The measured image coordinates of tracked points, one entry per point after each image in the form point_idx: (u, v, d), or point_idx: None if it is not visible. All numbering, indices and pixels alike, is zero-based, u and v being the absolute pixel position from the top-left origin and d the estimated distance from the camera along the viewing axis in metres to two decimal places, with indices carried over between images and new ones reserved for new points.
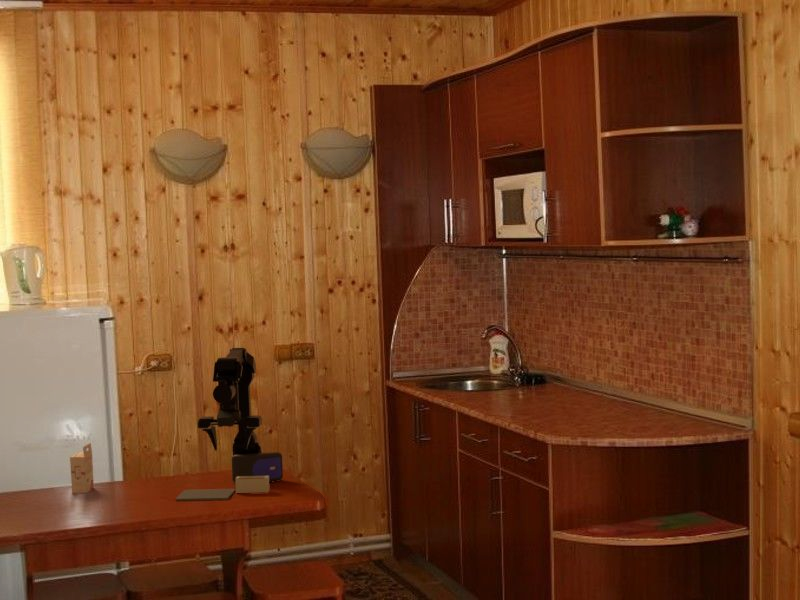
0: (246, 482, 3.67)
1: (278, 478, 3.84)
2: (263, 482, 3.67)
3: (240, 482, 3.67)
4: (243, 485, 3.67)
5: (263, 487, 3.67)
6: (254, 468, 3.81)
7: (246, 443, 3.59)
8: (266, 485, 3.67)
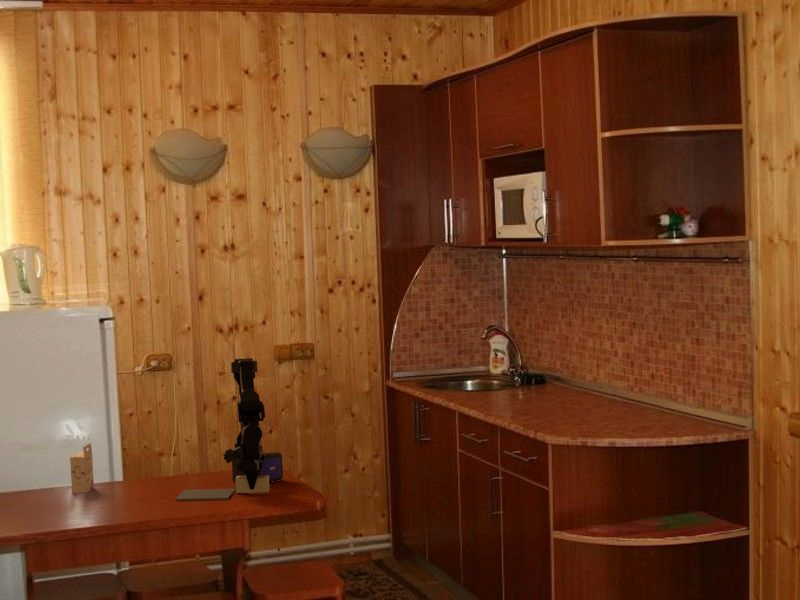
0: (246, 481, 3.67)
1: (278, 478, 3.84)
2: (263, 482, 3.67)
3: (240, 481, 3.67)
4: (243, 484, 3.67)
5: (263, 487, 3.67)
6: None
7: None
8: (266, 485, 3.67)
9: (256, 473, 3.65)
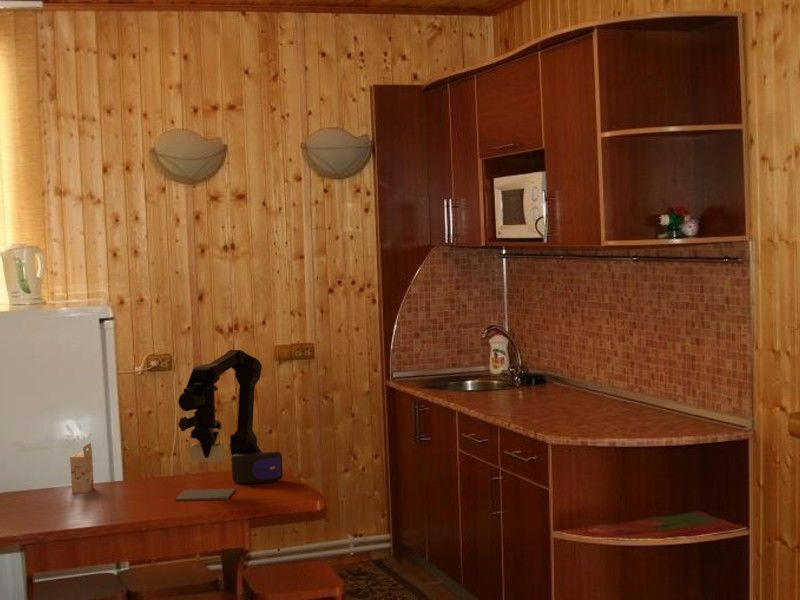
0: (201, 450, 3.67)
1: (278, 477, 3.84)
2: (218, 450, 3.67)
3: (195, 450, 3.67)
4: (198, 453, 3.67)
5: (218, 455, 3.67)
6: (254, 468, 3.80)
7: None
8: (221, 453, 3.67)
9: (211, 441, 3.65)
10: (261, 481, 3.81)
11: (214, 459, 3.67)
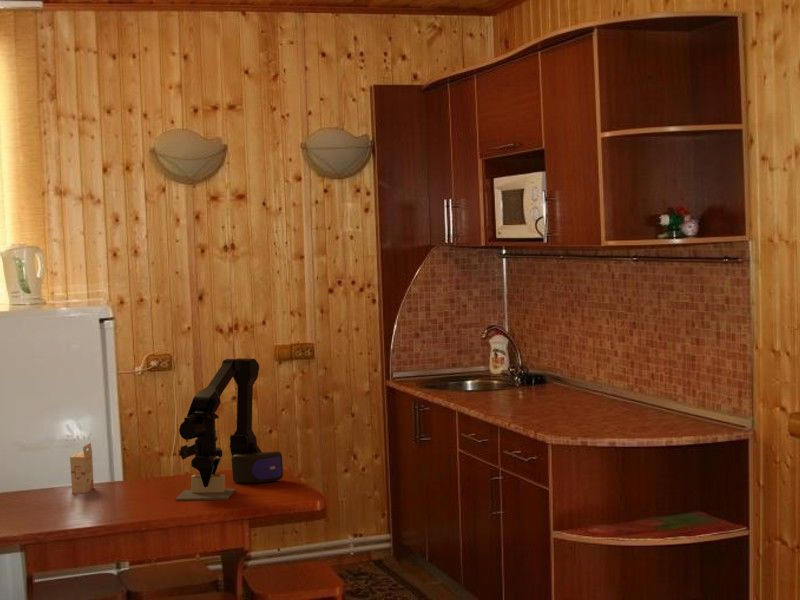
0: (201, 480, 3.67)
1: (278, 477, 3.84)
2: (218, 480, 3.67)
3: (195, 480, 3.67)
4: (198, 483, 3.67)
5: (218, 485, 3.67)
6: (254, 468, 3.80)
7: None
8: (221, 483, 3.67)
9: (210, 470, 3.63)
10: (261, 481, 3.81)
11: (215, 490, 3.67)
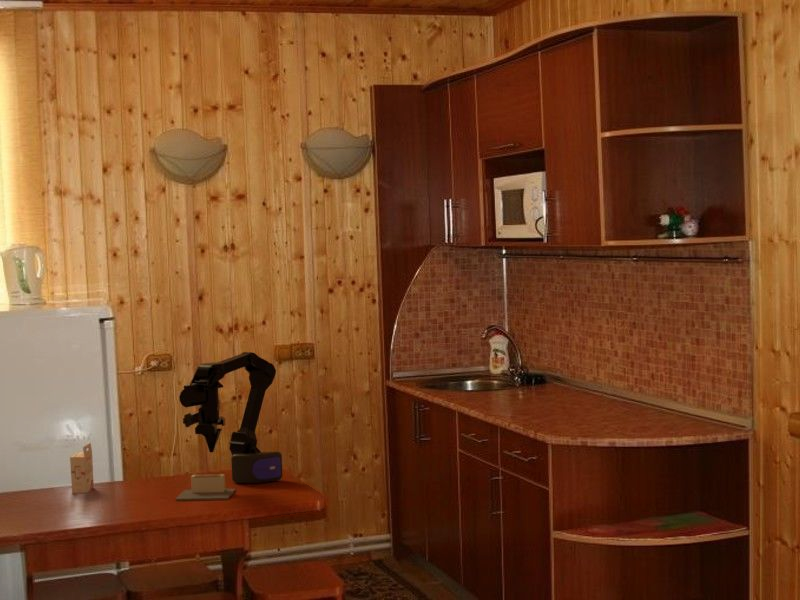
0: (201, 480, 3.67)
1: (278, 477, 3.84)
2: (218, 480, 3.67)
3: (195, 480, 3.67)
4: (198, 483, 3.67)
5: (218, 485, 3.67)
6: (254, 468, 3.80)
7: None
8: (221, 483, 3.67)
9: (215, 436, 3.74)
10: (261, 481, 3.81)
11: (215, 490, 3.67)
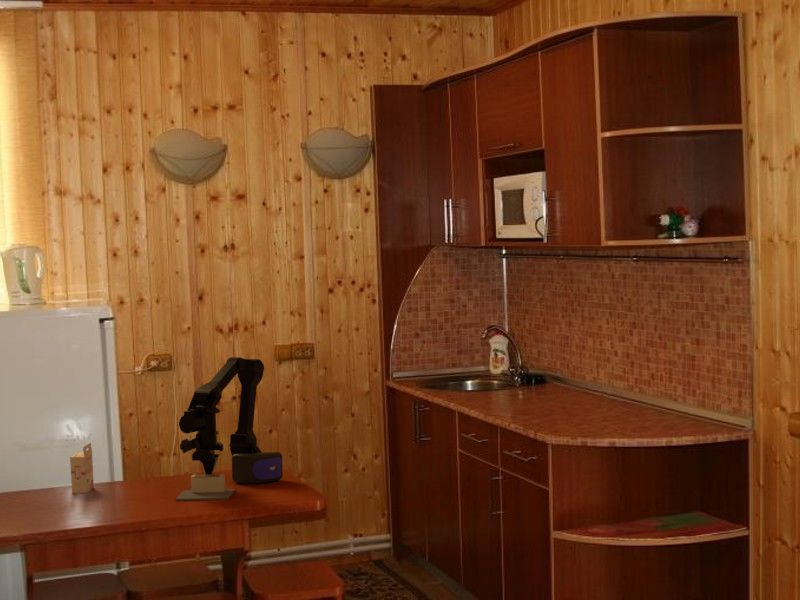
0: (201, 481, 3.67)
1: (278, 478, 3.84)
2: (218, 481, 3.67)
3: (195, 481, 3.67)
4: (198, 483, 3.67)
5: (218, 485, 3.67)
6: (254, 468, 3.80)
7: None
8: (221, 483, 3.67)
9: (213, 462, 3.69)
10: (261, 481, 3.81)
11: (215, 490, 3.67)
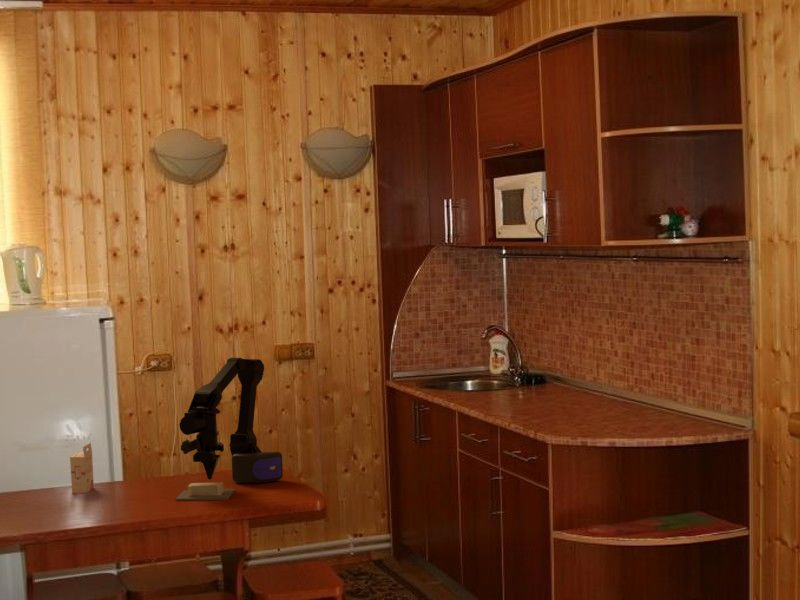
0: None
1: (278, 477, 3.84)
2: None
3: None
4: None
5: None
6: (254, 468, 3.80)
7: None
8: (220, 493, 3.65)
9: (214, 463, 3.69)
10: (261, 481, 3.81)
11: None
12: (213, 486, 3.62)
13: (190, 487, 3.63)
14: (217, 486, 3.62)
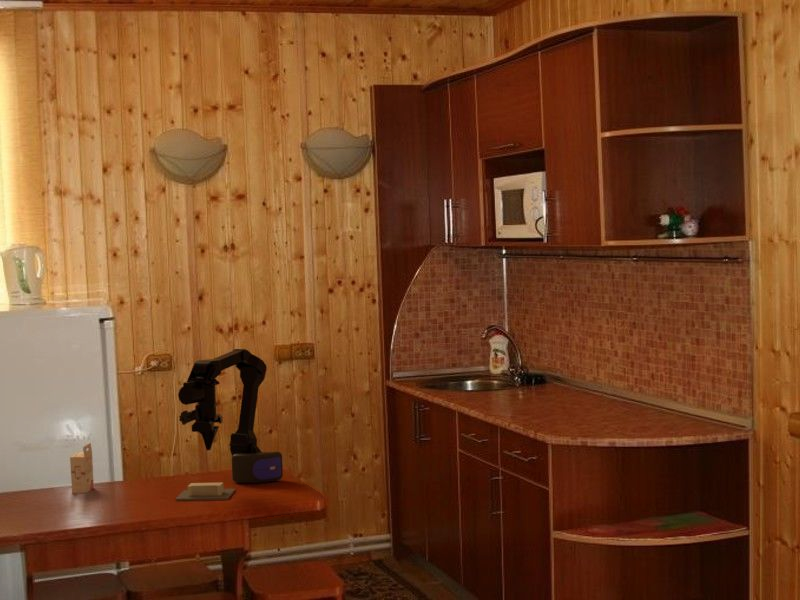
0: None
1: (278, 477, 3.84)
2: None
3: None
4: None
5: None
6: (254, 468, 3.80)
7: None
8: (220, 493, 3.65)
9: (212, 434, 3.69)
10: (261, 481, 3.81)
11: None
12: (213, 486, 3.62)
13: (190, 487, 3.63)
14: (217, 486, 3.62)
